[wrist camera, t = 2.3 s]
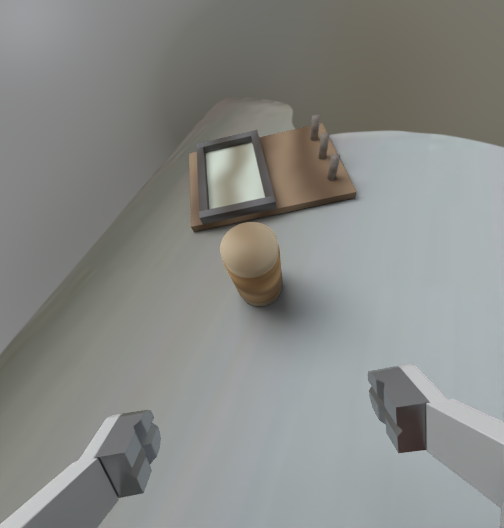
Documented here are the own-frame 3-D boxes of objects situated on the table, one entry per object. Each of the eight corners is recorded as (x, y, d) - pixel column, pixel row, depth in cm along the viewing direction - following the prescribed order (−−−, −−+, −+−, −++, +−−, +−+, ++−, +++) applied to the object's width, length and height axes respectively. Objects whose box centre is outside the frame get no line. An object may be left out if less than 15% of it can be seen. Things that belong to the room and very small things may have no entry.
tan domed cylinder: (277, 263, 26) (272, 215, 19) (286, 302, 24) (284, 265, 17) (236, 271, 26) (216, 227, 19) (241, 311, 24) (221, 277, 17)
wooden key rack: (321, 129, 36) (324, 101, 32) (354, 197, 29) (363, 170, 25) (191, 159, 37) (181, 134, 33) (193, 231, 30) (181, 210, 26)
